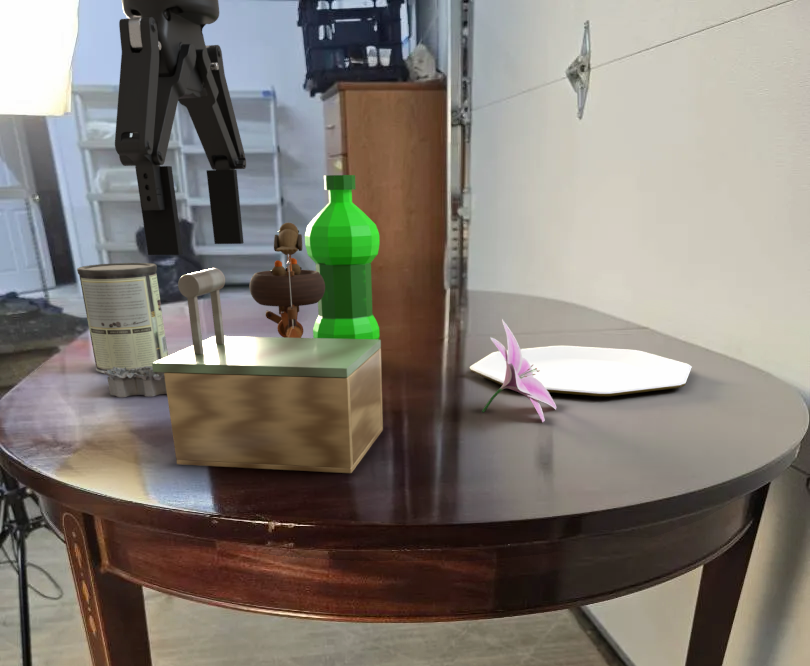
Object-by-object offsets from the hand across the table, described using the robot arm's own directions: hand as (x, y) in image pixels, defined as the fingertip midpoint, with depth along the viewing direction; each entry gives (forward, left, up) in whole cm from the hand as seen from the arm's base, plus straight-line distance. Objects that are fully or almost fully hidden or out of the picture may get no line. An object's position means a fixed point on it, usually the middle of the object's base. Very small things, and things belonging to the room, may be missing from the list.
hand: (200, 249), depth 69 cm
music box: (-1, +27, -19) cm, 33 cm away
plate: (+36, +36, -19) cm, 54 cm away
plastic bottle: (+2, +44, -19) cm, 48 cm away
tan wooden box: (+7, 0, -19) cm, 20 cm away
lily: (+29, +15, -19) cm, 37 cm away
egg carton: (-17, +20, -19) cm, 32 cm away
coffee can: (-27, +33, -19) cm, 47 cm away
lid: (+6, 0, -10) cm, 11 cm away
